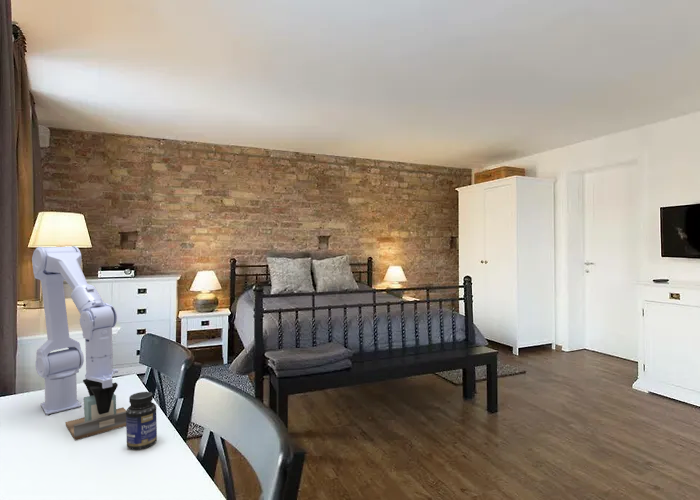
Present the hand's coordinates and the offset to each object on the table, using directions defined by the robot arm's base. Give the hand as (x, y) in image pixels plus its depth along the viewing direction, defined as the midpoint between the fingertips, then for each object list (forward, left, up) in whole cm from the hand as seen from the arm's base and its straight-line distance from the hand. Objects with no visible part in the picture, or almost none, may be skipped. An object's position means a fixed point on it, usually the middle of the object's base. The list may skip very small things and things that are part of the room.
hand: (100, 409), depth 105 cm
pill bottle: (+18, +4, -4) cm, 19 cm away
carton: (0, 0, -3) cm, 3 cm away
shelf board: (0, 0, -4) cm, 4 cm away
